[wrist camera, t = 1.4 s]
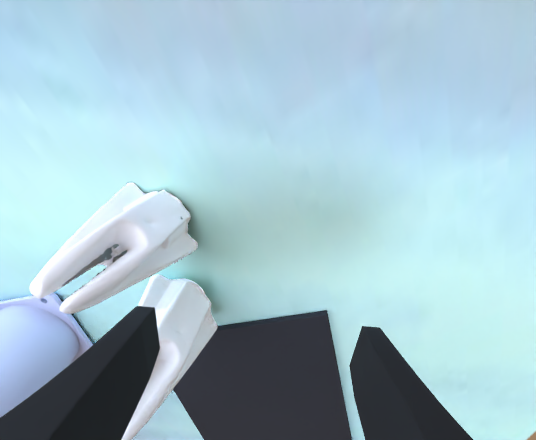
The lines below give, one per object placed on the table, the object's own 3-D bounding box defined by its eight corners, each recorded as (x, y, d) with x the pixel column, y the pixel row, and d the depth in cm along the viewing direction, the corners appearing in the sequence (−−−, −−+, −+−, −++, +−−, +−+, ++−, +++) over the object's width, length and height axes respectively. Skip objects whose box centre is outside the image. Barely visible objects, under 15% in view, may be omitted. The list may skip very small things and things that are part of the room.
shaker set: (223, 312, 23) (182, 485, 13) (175, 317, 24) (101, 488, 14) (180, 174, 18) (59, 289, 8) (119, 183, 18) (-66, 304, 9)
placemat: (216, 453, 33) (215, 458, 33) (146, 336, 25) (143, 341, 24) (352, 442, 31) (353, 447, 31) (326, 310, 23) (327, 314, 22)
